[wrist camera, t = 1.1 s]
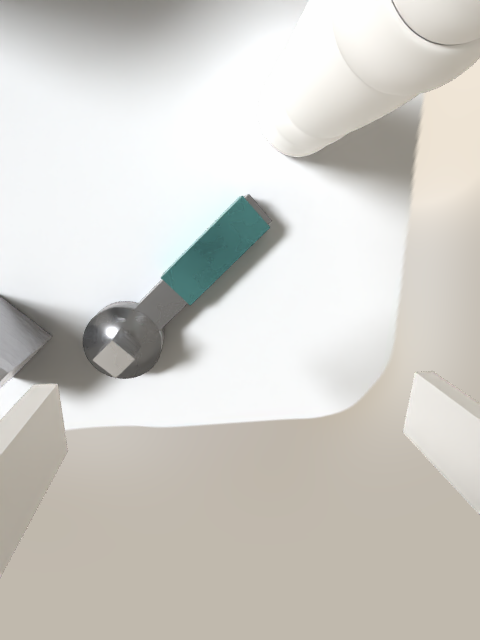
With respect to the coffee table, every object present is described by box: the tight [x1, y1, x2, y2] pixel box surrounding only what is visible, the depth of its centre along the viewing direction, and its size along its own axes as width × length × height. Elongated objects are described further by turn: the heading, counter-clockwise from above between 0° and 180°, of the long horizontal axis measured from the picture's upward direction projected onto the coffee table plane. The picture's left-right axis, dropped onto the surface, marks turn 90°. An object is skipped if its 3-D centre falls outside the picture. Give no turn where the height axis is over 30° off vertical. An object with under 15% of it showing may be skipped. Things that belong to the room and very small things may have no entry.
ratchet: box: [83, 194, 272, 379], centre depth 30 cm, size 21×7×6 cm, turn 133°
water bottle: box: [259, 0, 480, 157], centre depth 18 cm, size 7×7×25 cm
